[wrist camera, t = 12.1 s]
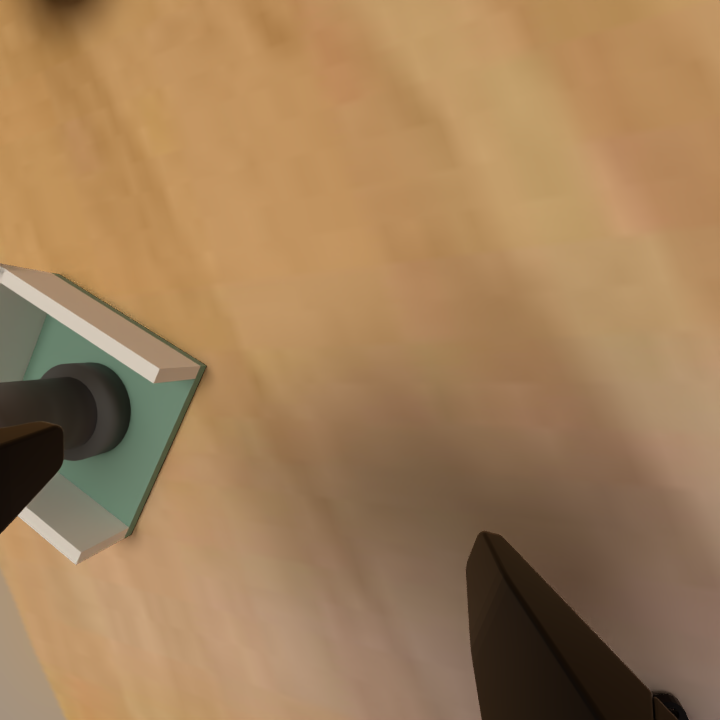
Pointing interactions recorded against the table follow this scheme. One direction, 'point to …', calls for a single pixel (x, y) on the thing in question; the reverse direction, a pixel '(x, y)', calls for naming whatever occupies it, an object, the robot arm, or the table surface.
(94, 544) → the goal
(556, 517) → the table surface
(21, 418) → the player figure
